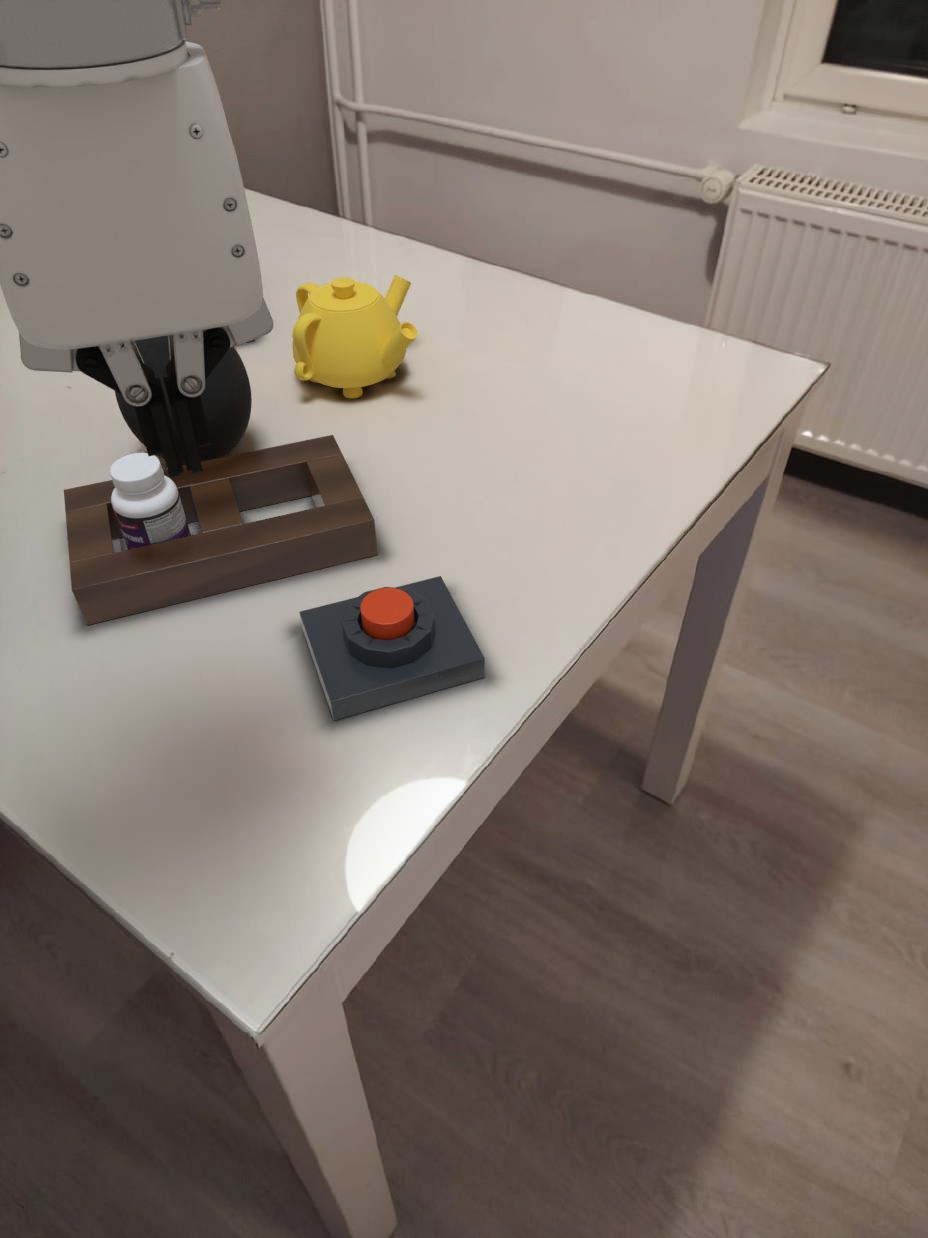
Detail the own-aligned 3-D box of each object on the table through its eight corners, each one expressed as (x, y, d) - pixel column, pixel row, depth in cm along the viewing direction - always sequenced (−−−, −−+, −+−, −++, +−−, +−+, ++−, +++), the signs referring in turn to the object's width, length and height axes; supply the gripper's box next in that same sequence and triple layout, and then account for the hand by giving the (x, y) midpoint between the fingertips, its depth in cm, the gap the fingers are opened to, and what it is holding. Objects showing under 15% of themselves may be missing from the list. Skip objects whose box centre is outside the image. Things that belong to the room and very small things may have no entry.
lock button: (370, 646, 64) (368, 629, 63) (356, 611, 67) (354, 594, 66) (421, 632, 65) (420, 616, 64) (405, 598, 68) (404, 582, 67)
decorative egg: (287, 444, 90) (263, 305, 79) (205, 508, 82) (166, 363, 72) (198, 412, 94) (164, 276, 84) (112, 469, 87) (63, 328, 76)
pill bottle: (123, 554, 78) (89, 463, 71) (178, 529, 80) (150, 439, 73) (150, 585, 75) (117, 494, 68) (206, 559, 77) (180, 468, 70)
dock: (378, 555, 77) (374, 519, 75) (87, 625, 71) (71, 590, 68) (337, 468, 87) (333, 434, 84) (77, 524, 81) (63, 489, 78)
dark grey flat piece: (333, 721, 64) (327, 685, 61) (302, 630, 71) (295, 595, 68) (484, 677, 67) (485, 641, 64) (441, 594, 74) (440, 559, 71)
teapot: (420, 405, 95) (416, 307, 87) (295, 412, 94) (279, 313, 86) (413, 343, 105) (408, 250, 98) (300, 348, 104) (286, 255, 97)
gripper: (261, -16, 34) (312, 396, 47) (-161, 5, 31) (19, 449, 43) (306, 21, 29) (349, 471, 42) (-192, 52, 26) (22, 538, 38)
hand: (182, 459), depth 43 cm, fingers closed
